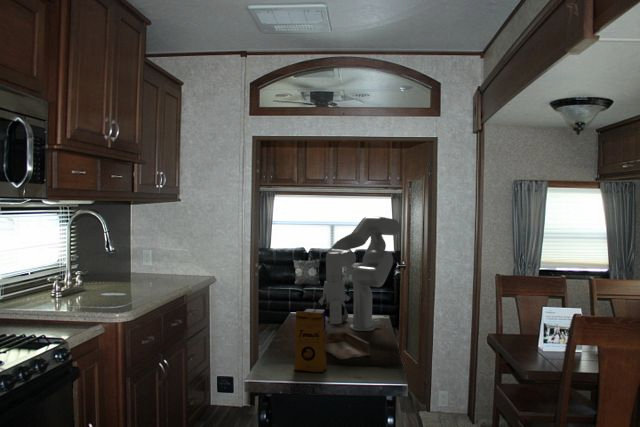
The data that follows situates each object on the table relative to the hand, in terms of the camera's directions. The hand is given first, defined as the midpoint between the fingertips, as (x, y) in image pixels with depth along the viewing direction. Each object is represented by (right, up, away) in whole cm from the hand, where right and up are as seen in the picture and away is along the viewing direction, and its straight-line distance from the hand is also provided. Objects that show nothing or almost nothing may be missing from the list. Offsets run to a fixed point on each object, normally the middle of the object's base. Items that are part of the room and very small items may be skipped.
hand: (334, 315), depth 225 cm
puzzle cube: (-10, -11, +12) cm, 19 cm away
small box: (0, -3, 0) cm, 3 cm away
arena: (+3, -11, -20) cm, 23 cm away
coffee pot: (-2, -10, +34) cm, 36 cm away
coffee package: (-11, -11, -44) cm, 47 cm away
